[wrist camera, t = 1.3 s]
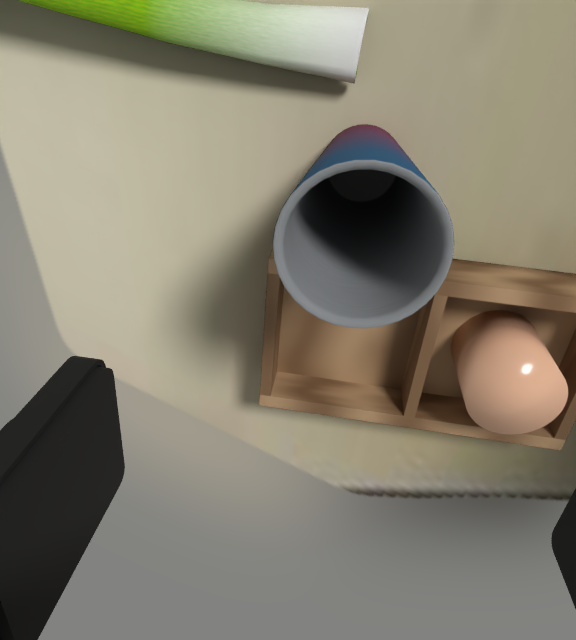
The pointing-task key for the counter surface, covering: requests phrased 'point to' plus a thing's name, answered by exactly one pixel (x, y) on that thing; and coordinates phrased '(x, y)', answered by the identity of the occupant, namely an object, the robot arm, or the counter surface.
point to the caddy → (414, 353)
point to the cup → (363, 234)
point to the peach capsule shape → (507, 373)
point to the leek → (240, 29)
